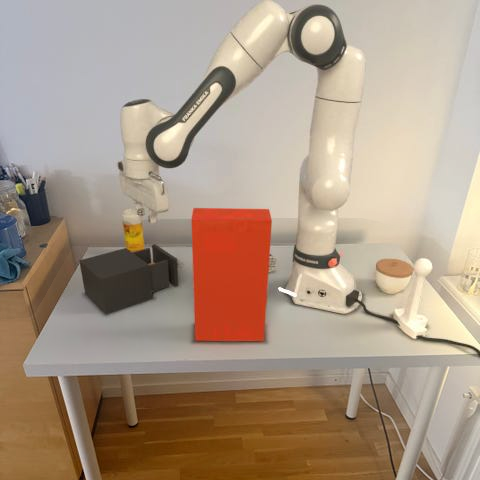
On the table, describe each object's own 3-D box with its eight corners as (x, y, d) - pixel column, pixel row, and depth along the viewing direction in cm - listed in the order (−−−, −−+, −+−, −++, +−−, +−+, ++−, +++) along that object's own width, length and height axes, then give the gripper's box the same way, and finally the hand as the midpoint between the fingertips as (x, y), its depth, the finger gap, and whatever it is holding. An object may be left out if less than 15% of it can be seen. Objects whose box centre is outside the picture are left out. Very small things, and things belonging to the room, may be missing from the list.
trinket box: (413, 288, 142) (420, 260, 137) (398, 301, 135) (405, 273, 130) (381, 277, 148) (387, 250, 143) (365, 289, 141) (370, 261, 136)
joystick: (389, 316, 128) (405, 250, 117) (413, 313, 130) (431, 248, 119) (410, 339, 119) (429, 270, 108) (435, 336, 121) (457, 267, 110)
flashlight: (241, 254, 159) (241, 240, 156) (255, 252, 161) (255, 237, 158) (261, 273, 148) (262, 258, 145) (276, 270, 150) (277, 255, 147)
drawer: (168, 266, 148) (166, 240, 143) (190, 281, 140) (189, 254, 135) (119, 281, 139) (115, 254, 134) (139, 298, 131) (136, 270, 126)
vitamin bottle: (123, 256, 156) (117, 213, 147) (133, 249, 160) (128, 207, 152) (138, 259, 154) (134, 216, 146) (148, 252, 159) (144, 210, 150)
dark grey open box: (129, 280, 142) (126, 247, 136) (152, 298, 133) (149, 264, 127) (85, 293, 134) (79, 260, 128) (106, 314, 125) (100, 279, 119)
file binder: (196, 323, 123) (193, 207, 105) (261, 324, 123) (268, 208, 106) (195, 341, 116) (191, 220, 98) (263, 342, 117) (271, 221, 99)
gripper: (173, 175, 115) (176, 227, 123) (134, 157, 128) (139, 206, 136) (151, 179, 112) (155, 233, 120) (113, 161, 125) (119, 210, 133)
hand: (146, 218), depth 128 cm, fingers open, 5 cm apart
